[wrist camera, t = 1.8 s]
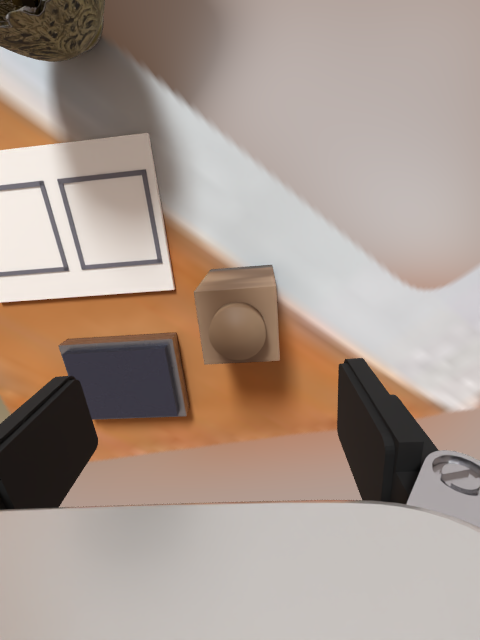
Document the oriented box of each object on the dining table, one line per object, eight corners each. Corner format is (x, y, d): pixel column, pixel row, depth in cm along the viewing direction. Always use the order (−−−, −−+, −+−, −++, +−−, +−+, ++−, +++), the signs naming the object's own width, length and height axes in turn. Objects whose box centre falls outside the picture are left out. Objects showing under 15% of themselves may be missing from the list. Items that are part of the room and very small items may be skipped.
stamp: (271, 264, 22) (277, 291, 15) (275, 322, 23) (281, 369, 17) (210, 269, 22) (189, 297, 15) (217, 326, 23) (201, 373, 17)
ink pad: (176, 332, 24) (169, 342, 22) (189, 407, 26) (184, 420, 25) (67, 339, 25) (53, 348, 23) (90, 410, 27) (79, 424, 25)
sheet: (148, 133, 19) (146, 132, 19) (175, 288, 23) (173, 290, 22) (-55, 158, 20) (-61, 157, 20) (0, 301, 24) (-4, 302, 23)
